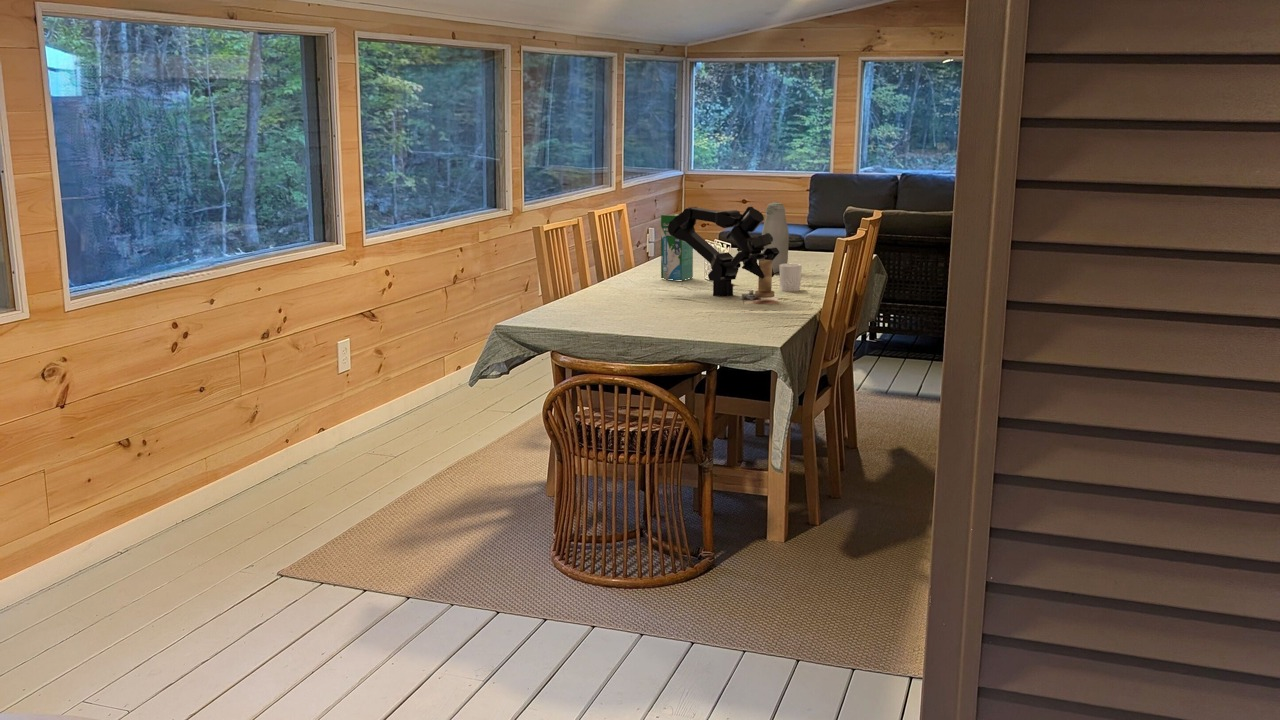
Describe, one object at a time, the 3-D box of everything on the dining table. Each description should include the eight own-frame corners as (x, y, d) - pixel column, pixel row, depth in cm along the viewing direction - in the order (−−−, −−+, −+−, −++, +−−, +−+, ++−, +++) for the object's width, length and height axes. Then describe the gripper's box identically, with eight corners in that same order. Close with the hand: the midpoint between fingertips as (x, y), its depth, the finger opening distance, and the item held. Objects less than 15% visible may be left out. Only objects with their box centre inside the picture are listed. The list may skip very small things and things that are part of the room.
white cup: (800, 294, 398) (801, 266, 395) (777, 294, 399) (778, 266, 397) (801, 291, 405) (802, 263, 403) (779, 290, 407) (780, 263, 405)
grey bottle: (769, 270, 456) (770, 200, 450) (791, 272, 450) (793, 201, 444) (757, 273, 448) (758, 202, 442) (779, 275, 442) (781, 203, 436)
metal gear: (741, 300, 381) (741, 291, 380) (741, 297, 387) (741, 288, 387) (761, 300, 380) (761, 292, 379) (760, 297, 387) (760, 288, 386)
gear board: (742, 306, 375) (742, 303, 375) (742, 299, 389) (742, 296, 388) (778, 307, 374) (778, 303, 374) (777, 299, 388) (777, 296, 387)
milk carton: (692, 278, 436) (693, 213, 431) (681, 281, 429) (681, 215, 423) (672, 276, 441) (672, 212, 435) (660, 279, 434) (660, 214, 428)
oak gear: (754, 297, 375) (755, 261, 372) (755, 294, 381) (756, 258, 379) (773, 298, 374) (774, 262, 371) (774, 294, 380) (775, 259, 377)
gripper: (738, 227, 369) (762, 264, 364) (776, 223, 381) (800, 259, 376) (720, 249, 377) (744, 285, 371) (758, 244, 389) (781, 279, 383)
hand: (768, 277), depth 375 cm, fingers closed on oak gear, 4 cm apart
